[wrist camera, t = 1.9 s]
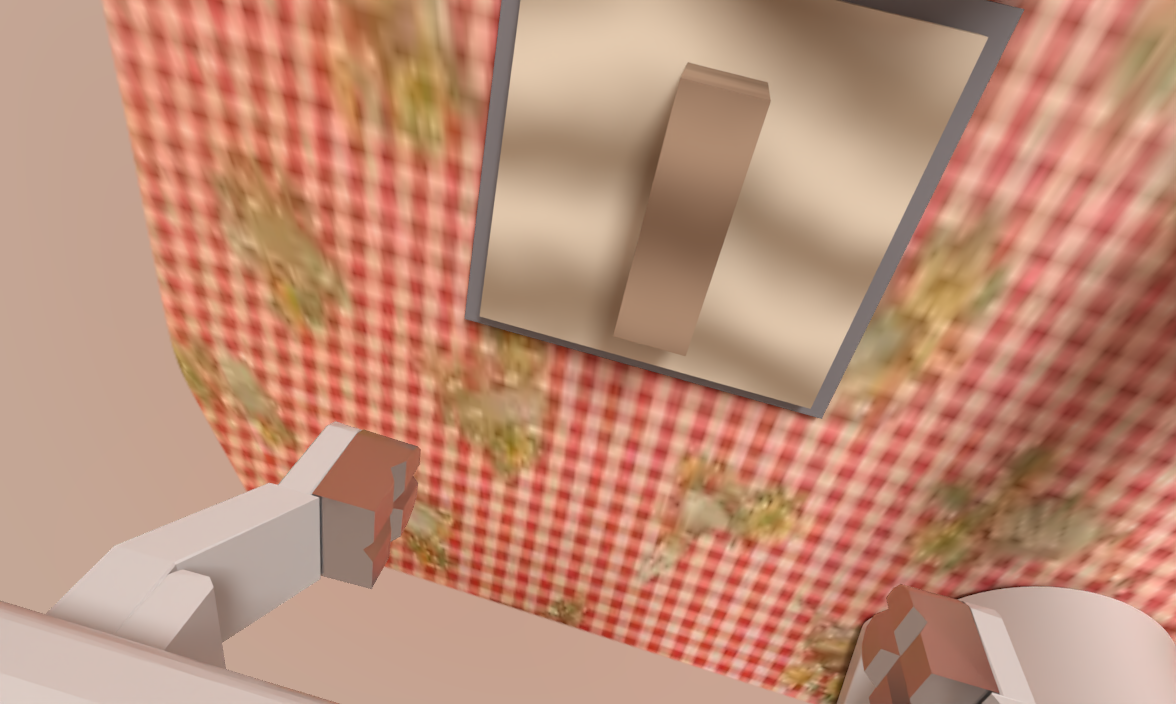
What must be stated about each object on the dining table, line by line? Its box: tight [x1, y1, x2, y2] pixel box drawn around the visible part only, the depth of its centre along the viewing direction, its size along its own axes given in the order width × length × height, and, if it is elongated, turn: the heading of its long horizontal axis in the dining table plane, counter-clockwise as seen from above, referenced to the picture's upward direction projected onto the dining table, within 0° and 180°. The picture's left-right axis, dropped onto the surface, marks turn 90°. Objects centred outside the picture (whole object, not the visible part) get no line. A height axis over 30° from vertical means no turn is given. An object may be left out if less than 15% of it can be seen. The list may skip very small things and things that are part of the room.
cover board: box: [480, 0, 988, 409], centre depth 27 cm, size 16×16×4 cm
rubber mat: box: [465, 0, 1024, 419], centre depth 29 cm, size 18×18×1 cm
